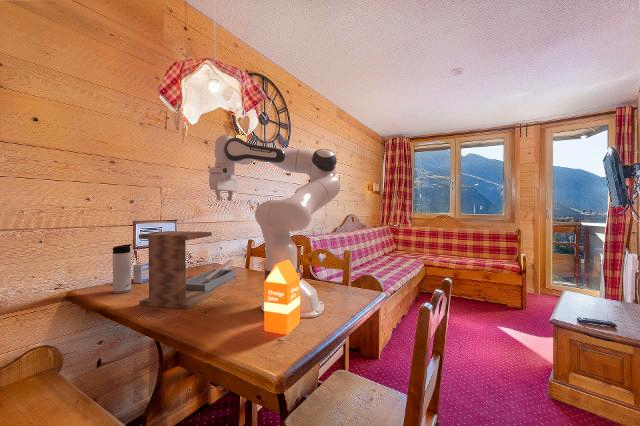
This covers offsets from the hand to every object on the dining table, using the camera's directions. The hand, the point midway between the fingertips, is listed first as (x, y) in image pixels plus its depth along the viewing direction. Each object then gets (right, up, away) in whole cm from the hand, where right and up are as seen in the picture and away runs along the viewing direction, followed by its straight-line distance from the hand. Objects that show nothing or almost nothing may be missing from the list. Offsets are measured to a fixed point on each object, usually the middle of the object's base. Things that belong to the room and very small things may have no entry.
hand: (224, 200), depth 131 cm
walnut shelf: (-10, -40, -23) cm, 47 cm away
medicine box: (-40, -39, +4) cm, 56 cm away
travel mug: (-39, -39, -13) cm, 57 cm away
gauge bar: (-5, -36, +8) cm, 37 cm away
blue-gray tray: (-7, -39, -1) cm, 40 cm away
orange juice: (+33, -41, -46) cm, 70 cm away
